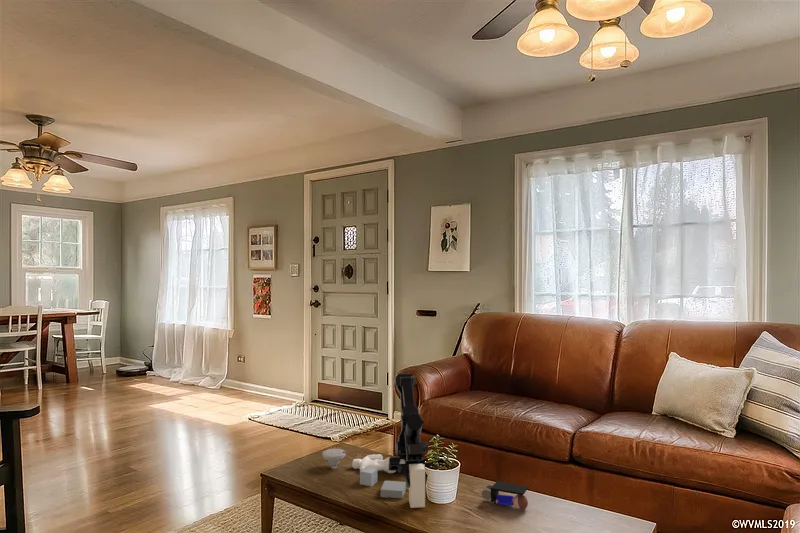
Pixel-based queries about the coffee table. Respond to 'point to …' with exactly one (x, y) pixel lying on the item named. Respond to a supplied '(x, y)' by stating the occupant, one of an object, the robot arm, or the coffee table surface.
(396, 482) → the plinth
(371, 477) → the cube
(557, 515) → the coffee table surface
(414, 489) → the pillar
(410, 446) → the robot arm
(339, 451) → the showerhead
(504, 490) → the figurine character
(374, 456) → the figure
